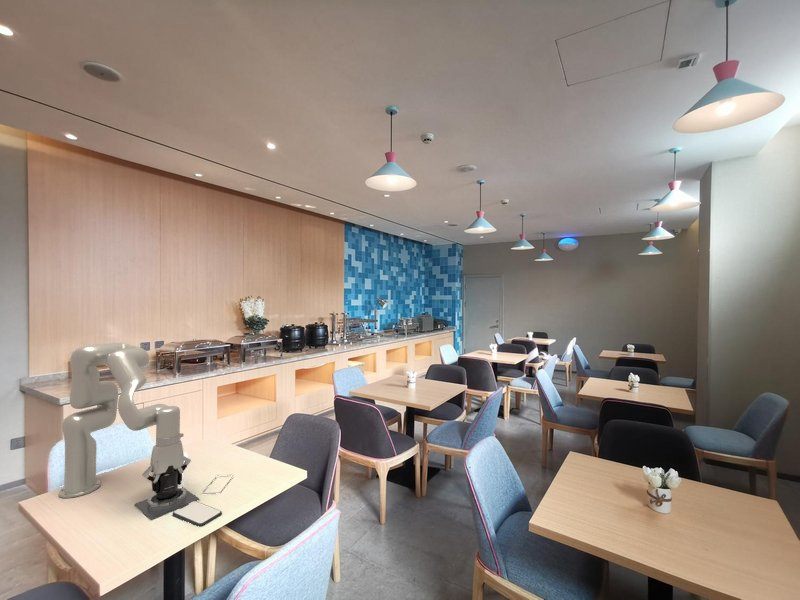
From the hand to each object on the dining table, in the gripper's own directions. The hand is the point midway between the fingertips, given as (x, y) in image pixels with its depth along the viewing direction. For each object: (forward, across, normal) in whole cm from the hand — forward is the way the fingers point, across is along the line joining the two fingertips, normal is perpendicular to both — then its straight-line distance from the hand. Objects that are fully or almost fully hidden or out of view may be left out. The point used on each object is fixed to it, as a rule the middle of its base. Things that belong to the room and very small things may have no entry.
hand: (167, 487), depth 133 cm
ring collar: (+6, 0, 0) cm, 6 cm away
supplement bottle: (+4, 0, 0) cm, 4 cm away
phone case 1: (+6, -3, +17) cm, 19 cm away
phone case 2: (+6, -18, +2) cm, 19 cm away
